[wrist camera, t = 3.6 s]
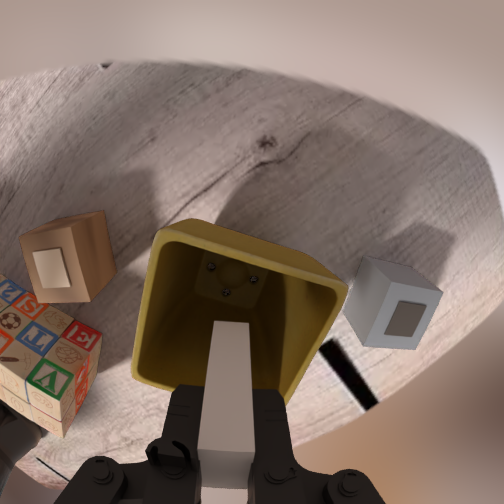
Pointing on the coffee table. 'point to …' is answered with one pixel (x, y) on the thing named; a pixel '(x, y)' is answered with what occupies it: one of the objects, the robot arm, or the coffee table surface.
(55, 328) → the stack of blocks
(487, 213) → the coffee table surface
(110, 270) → the walnut cube marked
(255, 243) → the flower pot
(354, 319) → the grey cube marked
